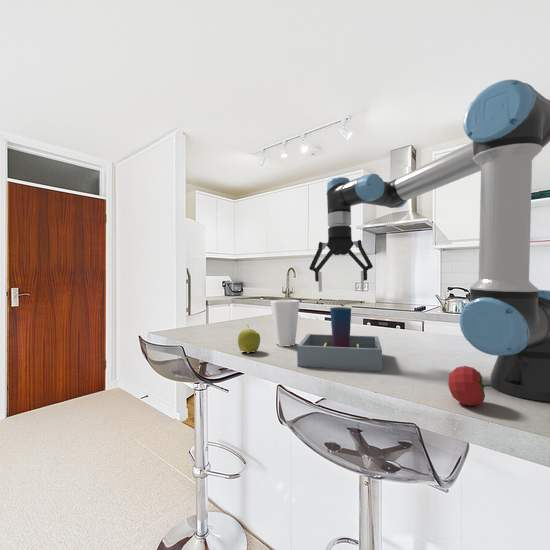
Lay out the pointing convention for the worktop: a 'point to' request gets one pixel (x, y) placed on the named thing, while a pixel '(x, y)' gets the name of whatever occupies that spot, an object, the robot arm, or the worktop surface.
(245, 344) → the apple
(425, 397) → the worktop surface
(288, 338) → the cup
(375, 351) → the walled box
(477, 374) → the tomato
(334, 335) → the cup
